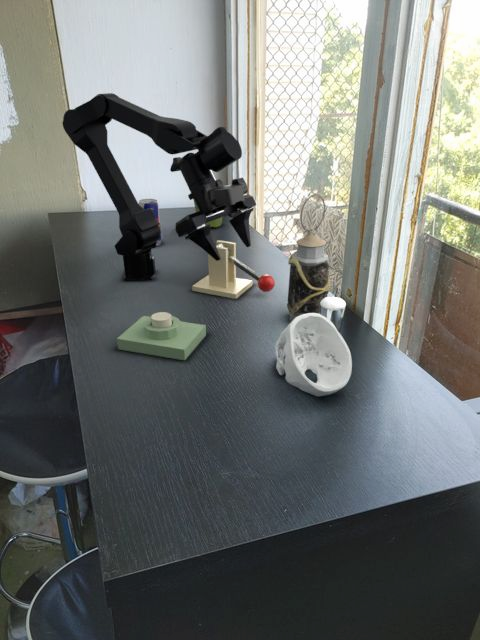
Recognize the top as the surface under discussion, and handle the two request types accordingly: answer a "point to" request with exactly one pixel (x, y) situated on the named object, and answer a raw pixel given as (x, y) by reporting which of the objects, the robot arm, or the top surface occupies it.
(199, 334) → the block
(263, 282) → the lever
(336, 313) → the milkshake
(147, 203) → the energy drink
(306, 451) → the top surface
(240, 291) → the bracket
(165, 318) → the button
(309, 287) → the lantern
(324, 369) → the skull bowl
